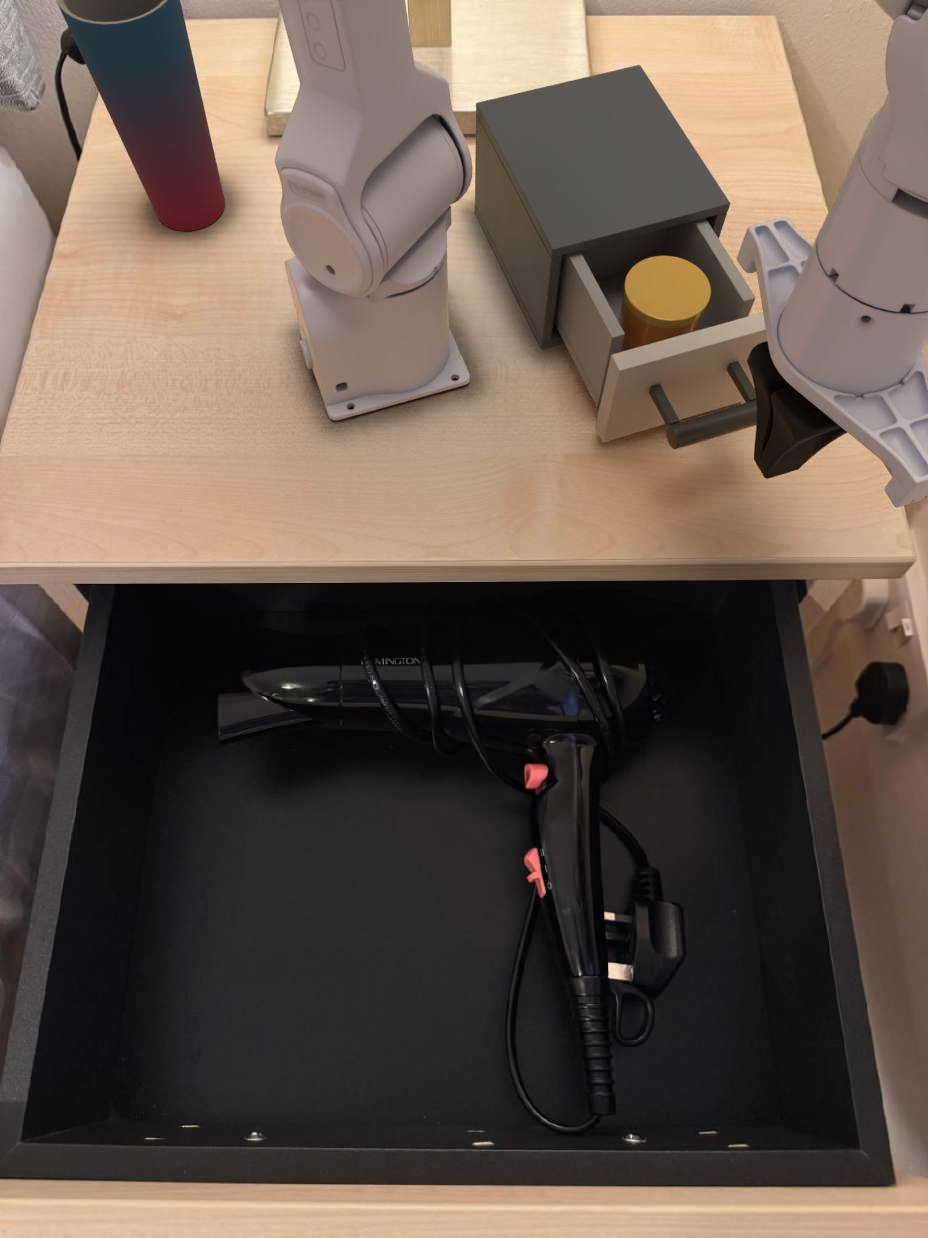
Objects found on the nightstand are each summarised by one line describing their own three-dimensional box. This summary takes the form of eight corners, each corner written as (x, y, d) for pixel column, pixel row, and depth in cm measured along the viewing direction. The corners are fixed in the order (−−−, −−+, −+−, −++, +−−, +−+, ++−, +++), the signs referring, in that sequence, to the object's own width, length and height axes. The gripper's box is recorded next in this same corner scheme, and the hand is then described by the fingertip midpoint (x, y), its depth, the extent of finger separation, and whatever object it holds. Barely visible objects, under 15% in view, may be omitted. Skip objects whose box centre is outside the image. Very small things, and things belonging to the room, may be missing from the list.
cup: (220, 246, 62) (151, 30, 48) (129, 232, 63) (35, 15, 49) (249, 180, 65) (191, -43, 51) (161, 167, 65) (81, -57, 52)
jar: (598, 333, 56) (611, 266, 51) (669, 313, 57) (688, 246, 52) (629, 392, 55) (645, 329, 50) (702, 371, 55) (726, 307, 50)
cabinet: (697, 306, 60) (731, 202, 52) (541, 349, 58) (552, 249, 51) (619, 175, 65) (640, 63, 57) (474, 211, 64) (475, 101, 56)
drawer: (781, 451, 54) (822, 379, 48) (629, 497, 53) (650, 430, 47) (669, 261, 60) (692, 176, 54) (530, 298, 59) (538, 215, 53)
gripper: (1101, 373, 31) (918, 558, 43) (887, 109, 36) (780, 339, 49) (924, 428, 30) (789, 600, 42) (732, 148, 35) (664, 373, 48)
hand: (776, 463), depth 45 cm, fingers closed
